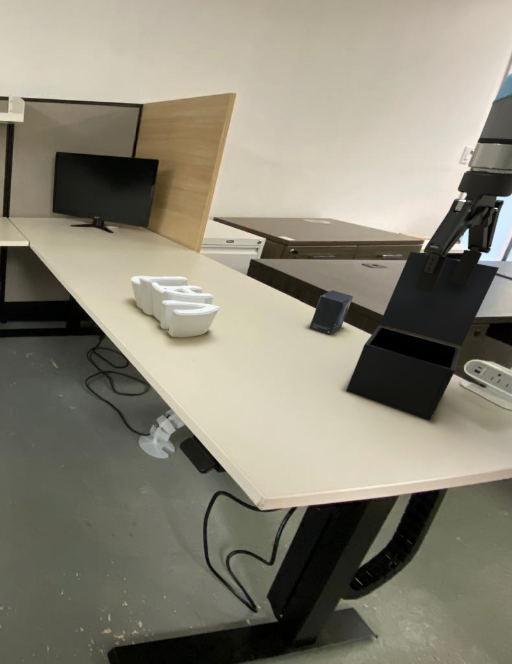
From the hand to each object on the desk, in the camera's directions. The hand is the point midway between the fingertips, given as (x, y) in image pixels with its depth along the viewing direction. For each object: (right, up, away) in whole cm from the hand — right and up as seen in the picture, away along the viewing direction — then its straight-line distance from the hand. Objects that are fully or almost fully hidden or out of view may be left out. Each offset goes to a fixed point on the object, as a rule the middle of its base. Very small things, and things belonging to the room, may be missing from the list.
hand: (441, 286), depth 91 cm
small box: (+7, -7, +50) cm, 51 cm away
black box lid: (+10, -1, +14) cm, 17 cm away
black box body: (+2, -22, +15) cm, 27 cm away
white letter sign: (-41, -4, +47) cm, 63 cm away
